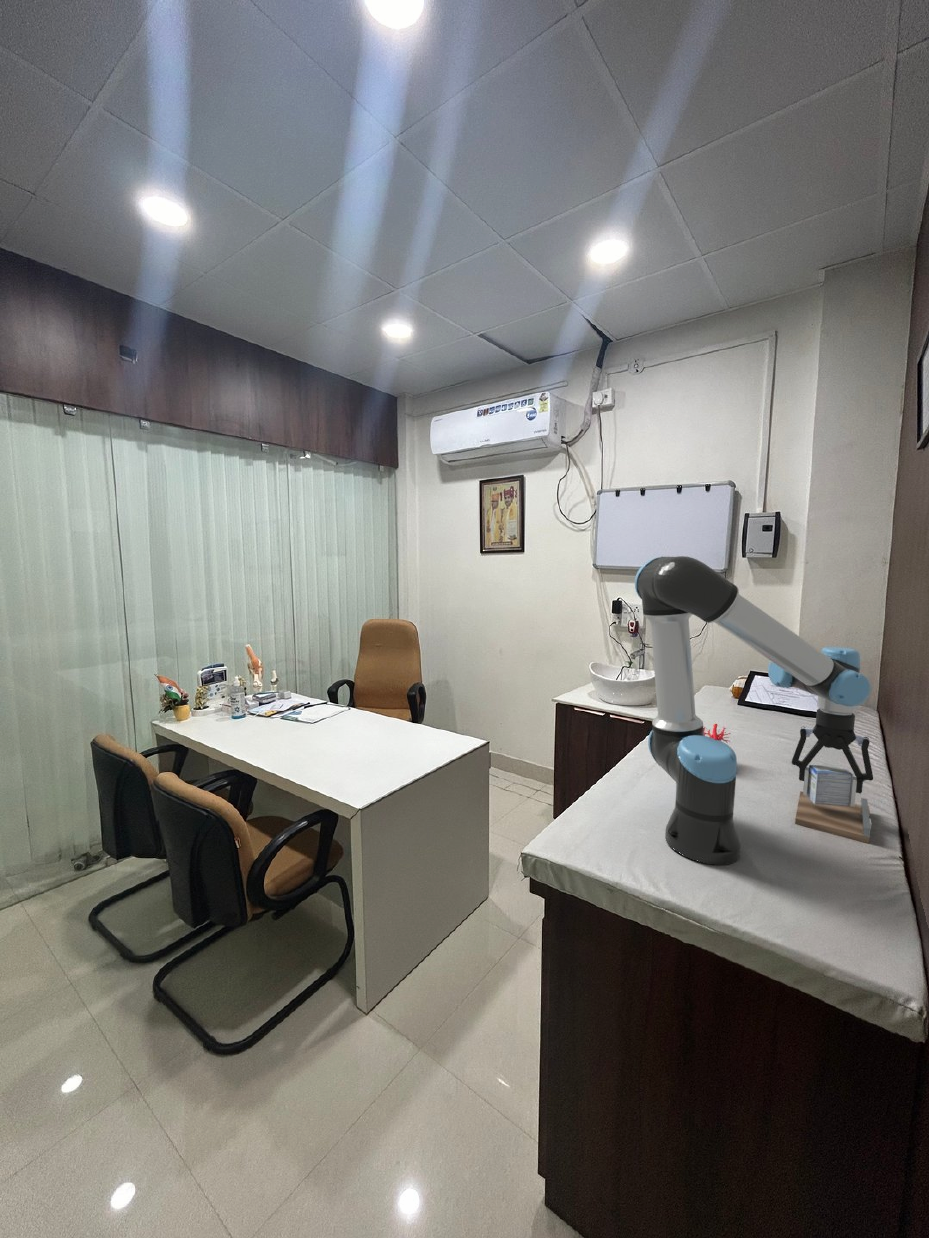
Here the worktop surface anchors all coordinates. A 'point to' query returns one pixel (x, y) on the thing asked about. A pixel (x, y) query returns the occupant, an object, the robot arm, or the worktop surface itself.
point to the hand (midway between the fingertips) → (828, 798)
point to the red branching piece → (714, 735)
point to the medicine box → (829, 785)
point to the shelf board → (835, 818)
